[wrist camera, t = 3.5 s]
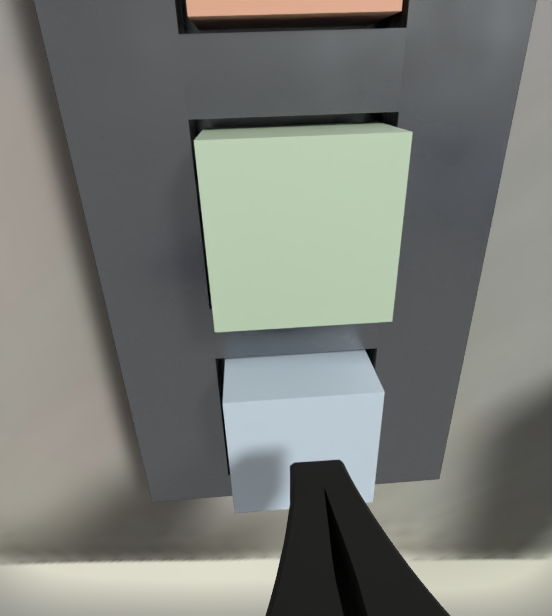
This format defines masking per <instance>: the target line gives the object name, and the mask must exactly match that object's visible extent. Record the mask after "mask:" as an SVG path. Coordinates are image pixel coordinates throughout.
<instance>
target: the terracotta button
mask: <svg viewBox="0 0 552 616" xmlns="http://www.w3.org/2000/svg"><path fill="white" fill-rule="evenodd" d="M402 1H403V0H186V5H187V15H188V18H189V19H190V20H191V21H192V22H193V24H194V25H195V26H196V27H197V29H198V30H226V29H263V28H300V27H337V26H369V25H371V24H373V23H376V22H378V21H380V20H383V19H385V18H387V17H389V16H392V15H394V14H396V13H398V12H401V11H402Z"/></svg>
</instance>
